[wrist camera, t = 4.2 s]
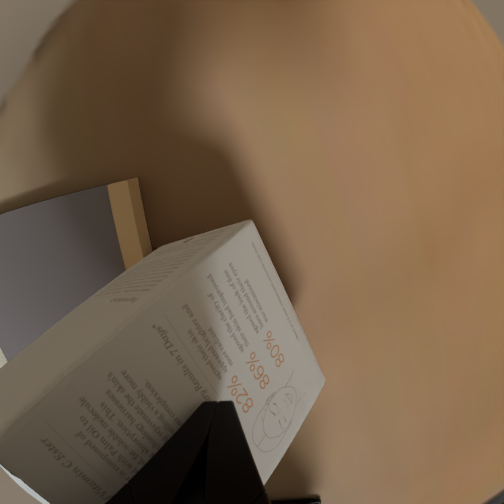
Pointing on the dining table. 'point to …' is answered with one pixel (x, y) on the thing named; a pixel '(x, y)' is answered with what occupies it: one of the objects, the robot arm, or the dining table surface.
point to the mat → (65, 256)
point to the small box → (158, 368)
